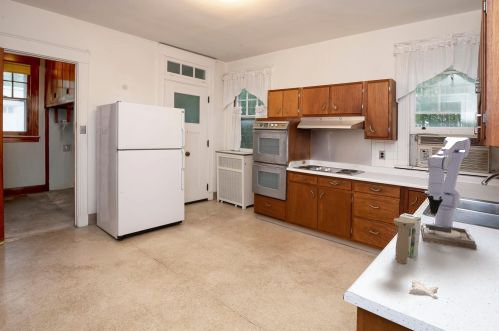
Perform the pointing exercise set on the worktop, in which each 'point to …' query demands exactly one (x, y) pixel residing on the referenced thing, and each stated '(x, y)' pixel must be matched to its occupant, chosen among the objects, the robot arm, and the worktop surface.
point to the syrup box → (413, 233)
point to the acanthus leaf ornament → (423, 289)
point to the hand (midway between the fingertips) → (433, 212)
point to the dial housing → (463, 241)
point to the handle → (403, 239)
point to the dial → (444, 231)
